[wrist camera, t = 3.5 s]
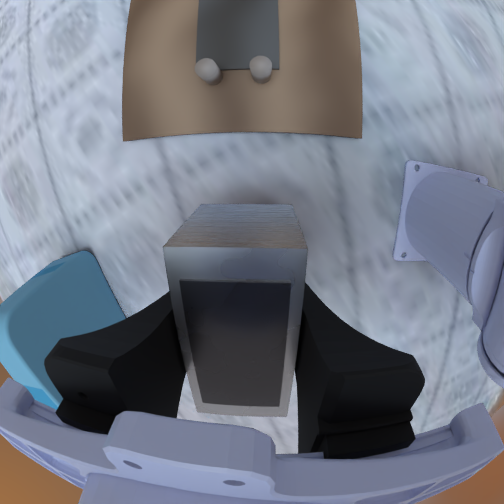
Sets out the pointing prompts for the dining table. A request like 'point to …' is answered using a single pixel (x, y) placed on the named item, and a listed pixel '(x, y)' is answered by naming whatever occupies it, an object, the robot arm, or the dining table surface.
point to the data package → (53, 318)
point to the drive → (238, 305)
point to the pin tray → (242, 68)
